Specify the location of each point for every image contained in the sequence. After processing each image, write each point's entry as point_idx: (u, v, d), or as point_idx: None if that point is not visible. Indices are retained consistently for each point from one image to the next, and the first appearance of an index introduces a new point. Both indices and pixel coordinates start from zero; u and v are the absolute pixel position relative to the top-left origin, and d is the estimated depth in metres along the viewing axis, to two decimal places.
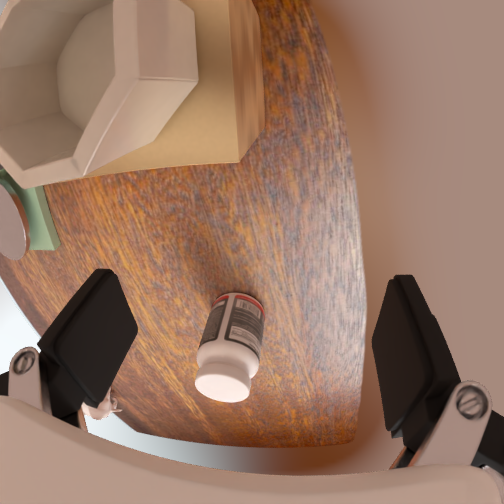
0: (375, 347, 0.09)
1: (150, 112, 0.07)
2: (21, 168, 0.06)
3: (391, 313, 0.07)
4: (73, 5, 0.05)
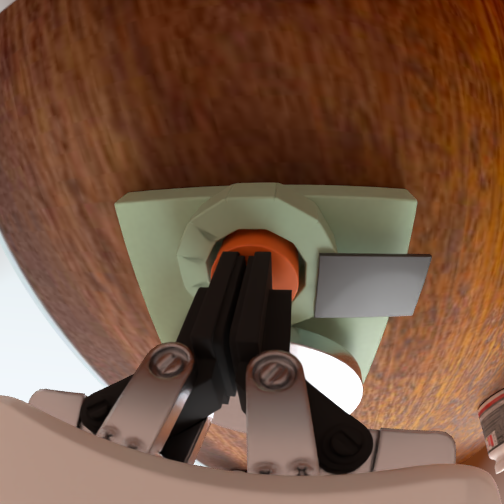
0: None
1: None
2: None
3: None
4: None
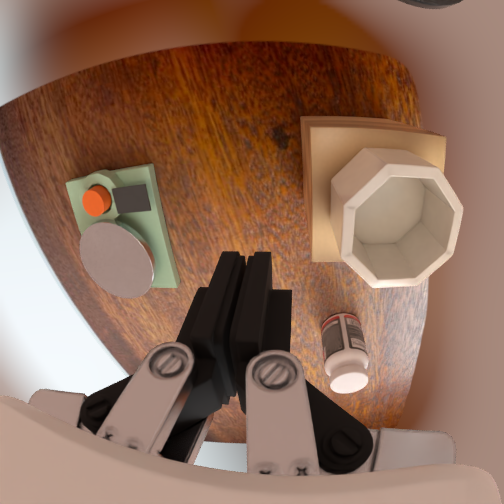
0: None
1: None
2: (376, 277, 0.14)
3: None
4: None
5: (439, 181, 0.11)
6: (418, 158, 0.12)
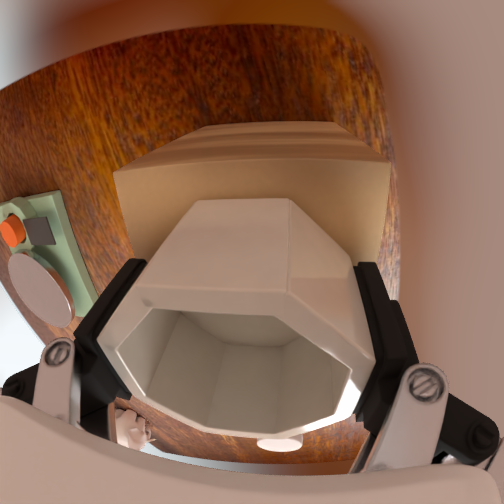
0: None
1: None
2: (203, 424, 0.08)
3: None
4: None
5: (293, 320, 0.05)
6: (273, 238, 0.06)
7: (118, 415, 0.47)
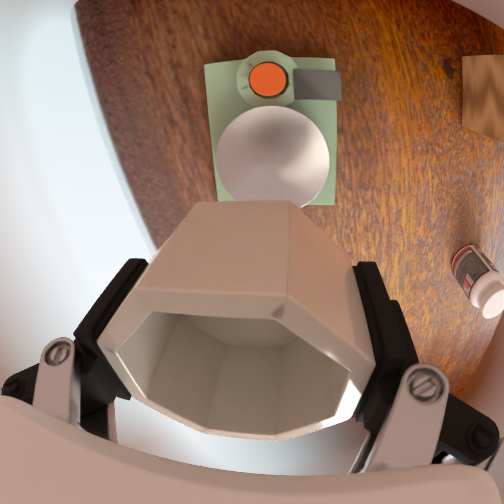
0: None
1: None
2: (203, 426, 0.08)
3: None
4: None
5: (293, 324, 0.05)
6: (273, 241, 0.06)
7: None
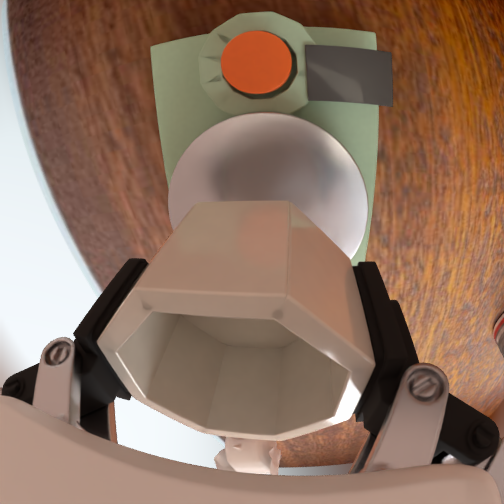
0: None
1: None
2: (203, 426, 0.08)
3: None
4: None
5: (292, 324, 0.05)
6: (273, 241, 0.06)
7: None
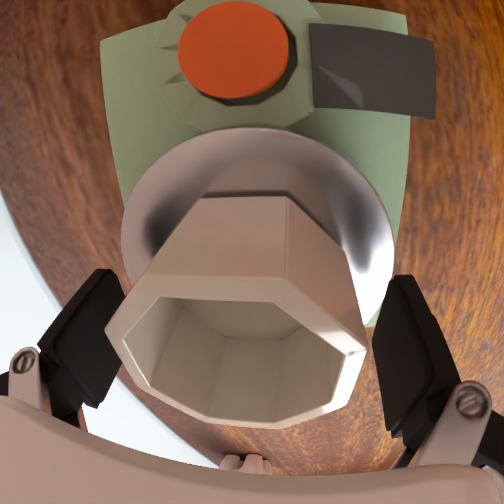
0: (375, 347, 0.09)
1: None
2: (205, 414, 0.09)
3: (391, 313, 0.07)
4: None
5: (289, 307, 0.05)
6: (271, 232, 0.07)
7: (233, 464, 0.32)
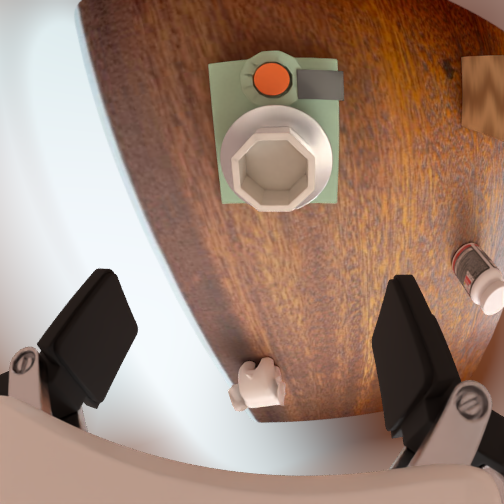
0: (375, 347, 0.09)
1: None
2: (260, 204, 0.24)
3: (391, 313, 0.07)
4: None
5: (291, 141, 0.21)
6: (285, 130, 0.22)
7: (250, 367, 0.47)
